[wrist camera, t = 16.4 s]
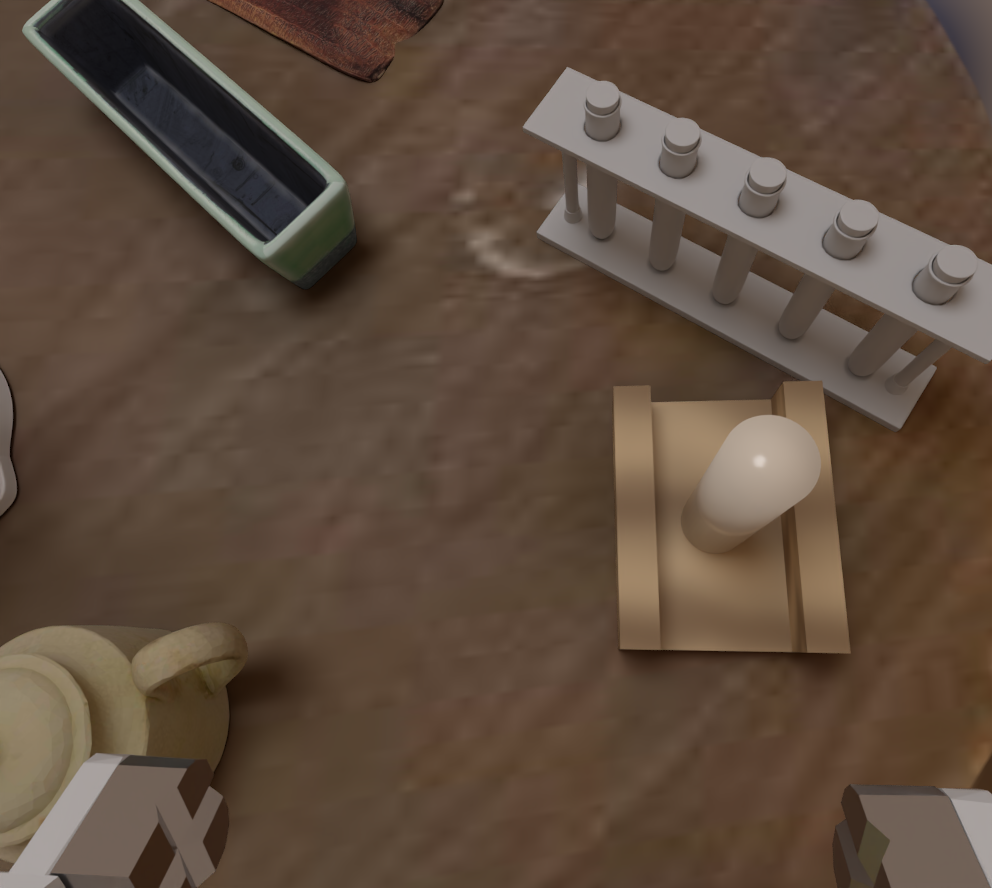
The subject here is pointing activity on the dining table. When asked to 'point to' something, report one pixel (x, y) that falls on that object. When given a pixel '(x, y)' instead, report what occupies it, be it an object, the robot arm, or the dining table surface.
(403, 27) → the wooden tablet
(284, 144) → the planter
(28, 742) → the sugar bowl
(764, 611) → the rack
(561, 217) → the test tube rack
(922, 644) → the dining table surface
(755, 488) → the clay rod
